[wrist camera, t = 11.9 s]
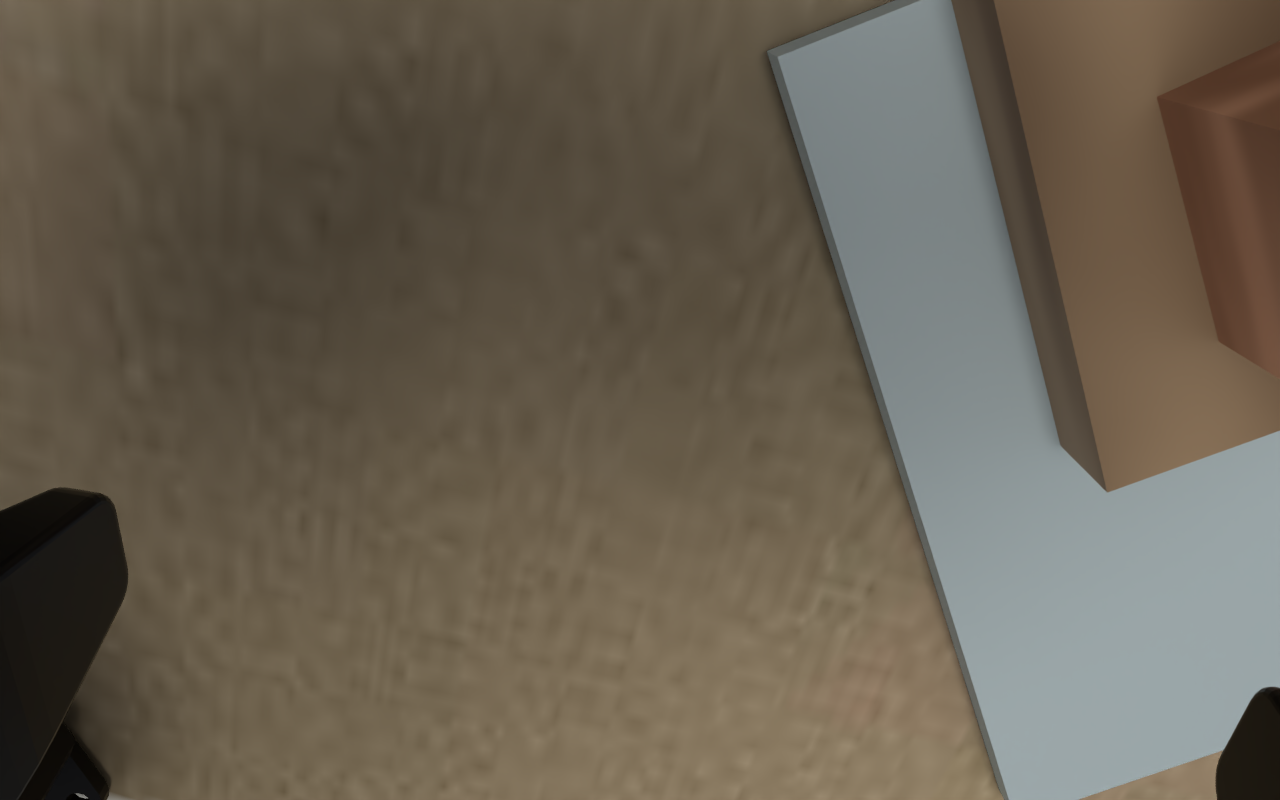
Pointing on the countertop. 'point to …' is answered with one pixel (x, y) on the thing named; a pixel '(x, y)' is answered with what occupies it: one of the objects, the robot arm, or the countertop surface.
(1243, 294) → the terracotta pillar
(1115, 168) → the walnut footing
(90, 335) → the countertop surface
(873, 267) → the board
